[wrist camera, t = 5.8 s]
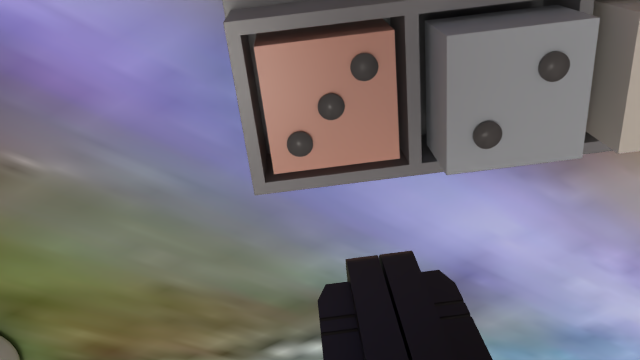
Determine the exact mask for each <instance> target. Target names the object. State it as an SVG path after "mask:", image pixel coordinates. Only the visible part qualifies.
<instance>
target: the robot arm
mask: <svg viewBox="0 0 640 360" xmlns="http://www.w3.org/2000/svg"><path fill="white" fill-rule="evenodd" d="M346 270H347V280H348V282H342V283H334V284H326V285H325V287H324V289H323V291H322V293H321V295H320V297H319V299H318V308H319V318H320V328H321V338H322V348H323V358H324V360H492V357H491V355H490V353H489V351H488V349H487V347H486V345H485V343H484V341H483V339H482V337H481V335H480V333H479V331H478V329H477V327H476V325H475V323H474V321H473V319H472V317H470V312H469V310H468V308H467V306H466V304H465V303H464V302H463V298H462V296H461V294H460V292H459V290H458V288H457V286H456V284H455V283H454V282H453V281H452V280H451V279H449V278H448V277H447V276H446V275H445V274H443V273H442V272H441V271H440V270H434V271H427V272H421V271H420V268H419V266H418V263H417V261H416V259H415V256H414V254H413V252H412V251H405V252H398V253H390V254H382V255H379V258H378V256H377V255H375V256H367V257H359V258H352V259H346Z"/></svg>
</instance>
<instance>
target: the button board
mask: <svg viewBox="0 0 640 360" xmlns="http://www.w3.org/2000/svg"><path fill="white" fill-rule="evenodd" d="M222 1H223V7H224V12H225V18H226V19H225V21H224V22H223V23H224V29H225V34H226V40H227V45H228V51H229V56H230V62H231V67H232V73H233V78H234V84H235V89H236V95H237V100H238V106H239V111H240V117H241V122H242V128H243V133H244V139H245V144H246V150H247V155H248V161H249V166H250V172H251V177H252V183H253V188H254V194H255V195H261V194H269V193H277V192H285V191H293V190H301V189H309V188H317V187H325V186H333V185H341V184H349V183H357V182H365V181H373V180H381V179H389V178H398V177H406V176H414V175H422V174H430V173H438V172H444V170H443V169H442V167H441V166H440V164H439V163H438V161H437V160H436V158H435V157H434V155H433V153H432V152H431V150H430V149H429V147H428V146H427V131H426V70H425V21H426V20H434V19H442V18H451V17H459V16H467V15H475V14H484V13H492V12H500V11H509V10H517V9H525V8H533V7H542V6H550V5H561V6H564V7H567V8H571V9H574V10H577V11H580V12H584V13H587V14H590V15H593V7H594V0H222ZM381 18H382V19H384V20H385V21H386V22H387V23H388V24H389V25H390V26H391V27H392V28H393V29H394V31H395V55H396V79H397V103H398V127H399V152H400V159H392V160H384V161H376V162H368V163H360V164H352V165H344V166H336V167H328V168H320V169H312V170H304V171H296V172H287V173H279V174H274V171H273V165H272V158H271V152H270V146H269V140H268V133H267V127H266V121H265V115H264V108H263V102H262V96H261V90H260V83H259V77H258V71H257V65H256V58H255V52H254V43H255V38H256V33H264V32H273V31H281V30H289V29H298V28H306V27H314V26H322V25H331V24H339V23H347V22H356V21H364V20H372V19H381ZM606 151H613V150H612V149H611V148H609V147H608V146H606V145H605V144H603V143H602V142H600V141H599V140H598V139H596V138H595V137H593V136H592V135H590V134H589V133H587V132H585V140H584V148H583V154H590V153H598V152H606Z"/></svg>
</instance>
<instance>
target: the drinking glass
mask: <svg viewBox="0 0 640 360" xmlns="http://www.w3.org/2000/svg"><path fill="white" fill-rule="evenodd" d="M0 360H20V358H19V354H18V352H17V351H16V349H15V348H14V346H13V345H12V344H11V343H10V342H9V341H8V340H7V339H5V338H4V337H2V336H0Z"/></svg>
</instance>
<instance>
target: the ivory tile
mask: <svg viewBox="0 0 640 360" xmlns="http://www.w3.org/2000/svg"><path fill="white" fill-rule="evenodd" d="M593 15H594V16H597V17H600V22H599V30H598V38H597V46H596V53H595V61H594V69H593V77H592V85H591V93H590V101H589V109H588V117H587V124H586V132H587V133H589V134H590V135H592V136H593V137H595V138H596V139H598V140H599V141H600V142H602V143H603V144H605V145H606V146H608V147H609V148H611V149H612V150H613V151H615V152H616V153H618V154H620V153H628V152H636V151H640V0H594V7H593Z"/></svg>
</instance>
